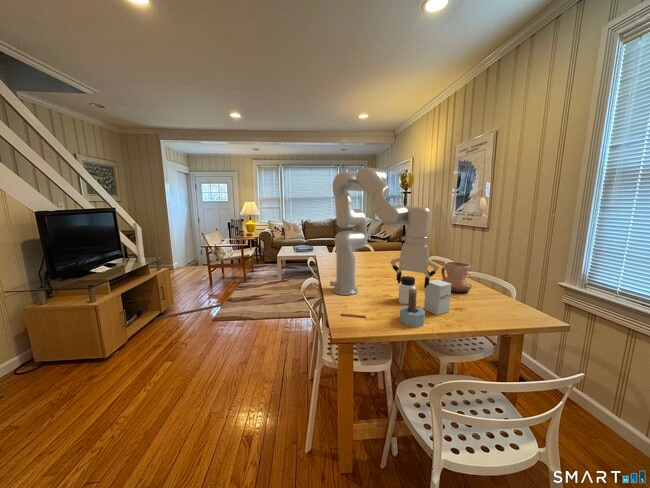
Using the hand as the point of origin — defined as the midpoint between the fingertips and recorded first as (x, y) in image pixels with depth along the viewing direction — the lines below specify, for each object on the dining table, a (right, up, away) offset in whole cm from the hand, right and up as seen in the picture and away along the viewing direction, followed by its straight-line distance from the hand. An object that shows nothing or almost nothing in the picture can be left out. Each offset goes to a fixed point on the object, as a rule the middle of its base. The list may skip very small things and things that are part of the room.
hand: (412, 284), depth 97 cm
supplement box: (+14, -13, +11) cm, 23 cm away
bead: (0, -15, +2) cm, 15 cm away
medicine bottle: (+5, -12, +22) cm, 25 cm away
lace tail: (-22, -14, +6) cm, 27 cm away
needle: (0, -15, +2) cm, 15 cm away
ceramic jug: (+36, -9, +38) cm, 53 cm away
